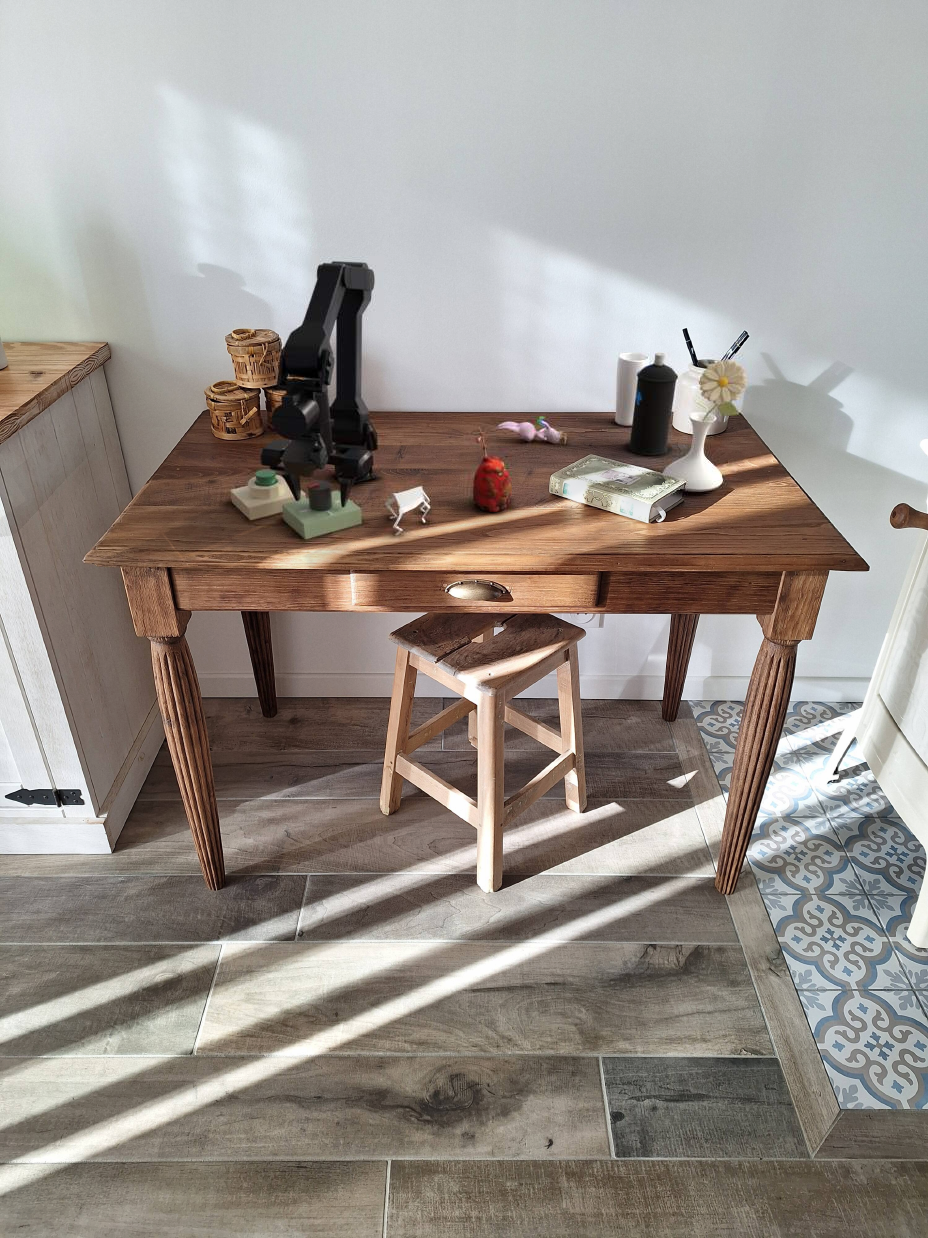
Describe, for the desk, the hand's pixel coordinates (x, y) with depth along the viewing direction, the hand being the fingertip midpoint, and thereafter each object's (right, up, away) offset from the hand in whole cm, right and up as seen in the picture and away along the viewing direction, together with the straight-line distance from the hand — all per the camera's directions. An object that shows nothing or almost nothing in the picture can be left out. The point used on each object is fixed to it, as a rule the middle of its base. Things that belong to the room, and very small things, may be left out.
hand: (320, 503), depth 149 cm
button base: (-11, +1, +8) cm, 13 cm away
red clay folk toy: (+30, +1, +8) cm, 31 cm away
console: (0, -3, +2) cm, 4 cm away
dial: (0, 0, 0) cm, 1 cm away
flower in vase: (+70, +5, +16) cm, 72 cm away
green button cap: (-11, +4, +6) cm, 13 cm away
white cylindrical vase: (+62, +24, +45) cm, 80 cm away
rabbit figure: (+40, +18, +35) cm, 56 cm away
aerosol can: (+64, +16, +32) cm, 73 cm away
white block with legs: (+15, -4, +2) cm, 15 cm away
